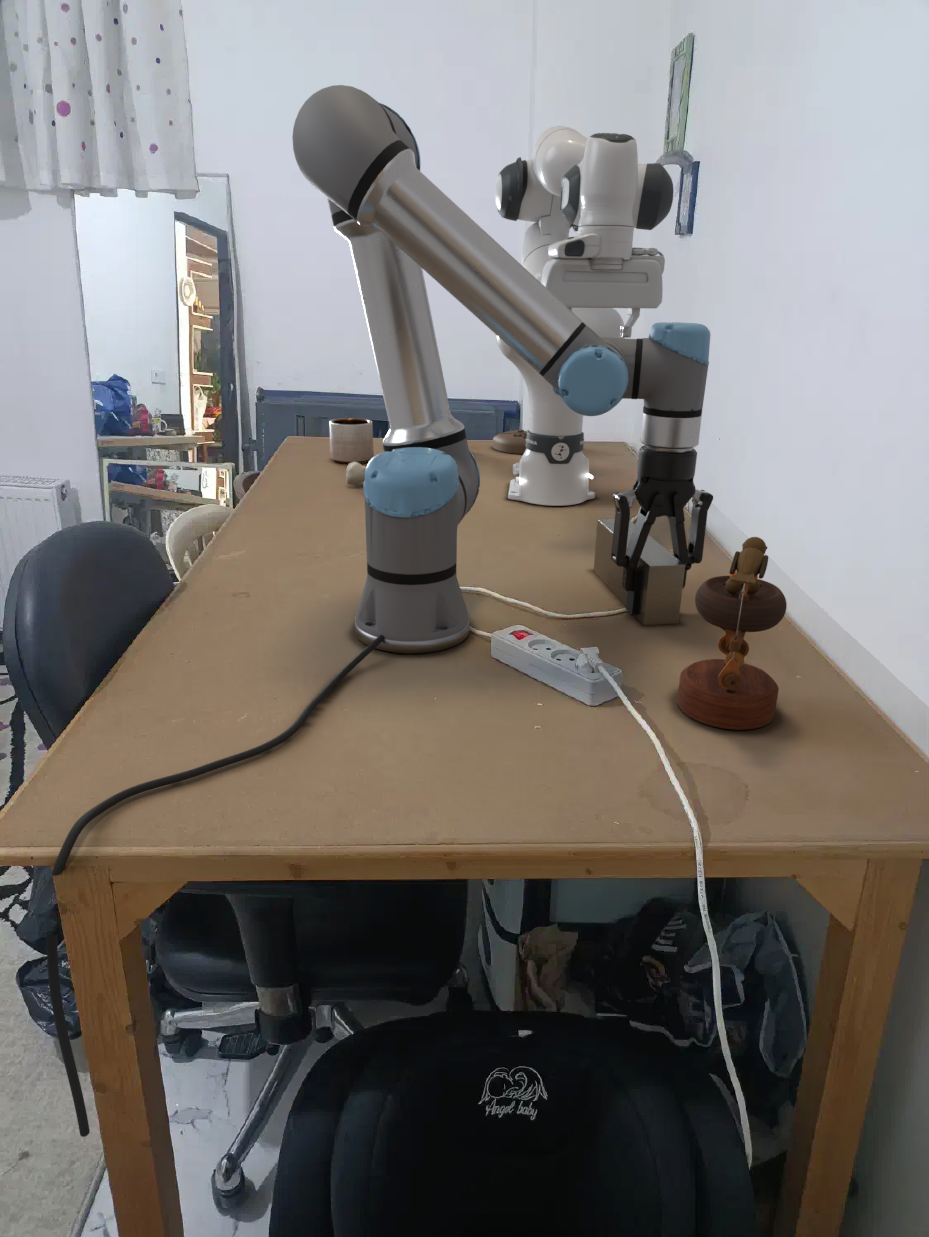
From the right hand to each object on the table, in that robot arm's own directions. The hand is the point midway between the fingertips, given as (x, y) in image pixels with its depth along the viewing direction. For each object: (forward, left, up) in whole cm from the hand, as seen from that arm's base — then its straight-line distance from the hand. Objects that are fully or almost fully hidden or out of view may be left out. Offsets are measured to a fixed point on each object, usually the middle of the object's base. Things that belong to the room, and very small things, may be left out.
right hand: (598, 337), depth 141 cm
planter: (-70, -43, -35) cm, 89 cm away
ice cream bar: (-77, +5, -35) cm, 85 cm away
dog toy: (-43, -34, -35) cm, 65 cm away
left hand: (+37, +1, -34) cm, 51 cm away
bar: (+30, 0, -35) cm, 46 cm away
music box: (+65, 0, -35) cm, 73 cm away
